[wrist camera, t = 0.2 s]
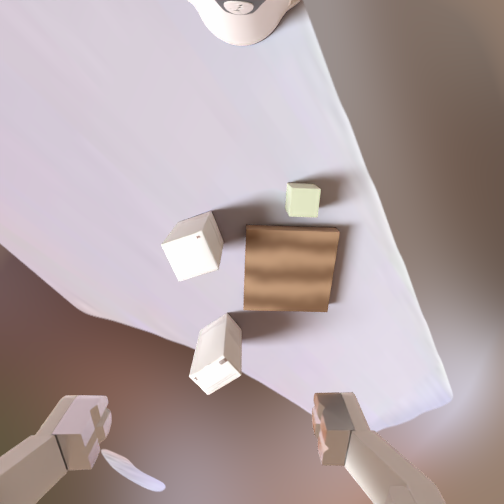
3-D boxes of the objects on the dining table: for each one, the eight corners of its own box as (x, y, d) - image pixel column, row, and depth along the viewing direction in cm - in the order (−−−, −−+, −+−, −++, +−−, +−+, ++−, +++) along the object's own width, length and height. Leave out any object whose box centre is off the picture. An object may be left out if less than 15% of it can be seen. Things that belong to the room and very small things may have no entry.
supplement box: (176, 221, 57) (159, 243, 45) (212, 210, 56) (203, 229, 45) (191, 254, 60) (177, 282, 48) (224, 243, 59) (219, 270, 47)
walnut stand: (246, 224, 58) (246, 229, 55) (335, 227, 58) (339, 232, 55) (243, 302, 64) (243, 310, 61) (323, 304, 65) (327, 312, 62)
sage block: (287, 182, 55) (291, 187, 49) (313, 183, 55) (320, 189, 49) (285, 208, 57) (289, 216, 51) (310, 209, 57) (317, 217, 51)
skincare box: (214, 345, 68) (207, 398, 55) (198, 328, 66) (186, 378, 53) (243, 328, 67) (243, 377, 53) (227, 310, 65) (223, 356, 51)
